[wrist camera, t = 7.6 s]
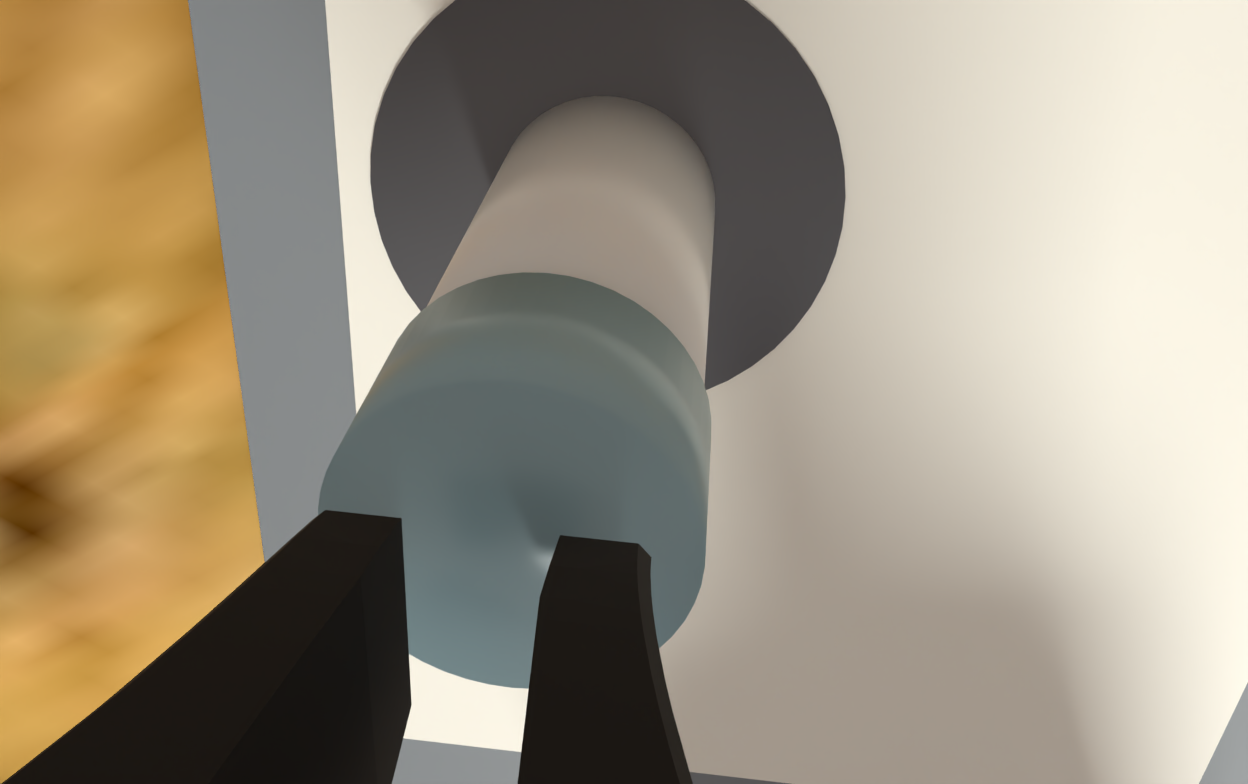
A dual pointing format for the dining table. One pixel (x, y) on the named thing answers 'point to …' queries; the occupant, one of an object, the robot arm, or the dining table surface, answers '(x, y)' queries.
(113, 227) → the dining table surface
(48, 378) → the dining table surface
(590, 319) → the small white bottle
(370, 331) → the white mounting plate
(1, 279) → the dining table surface
